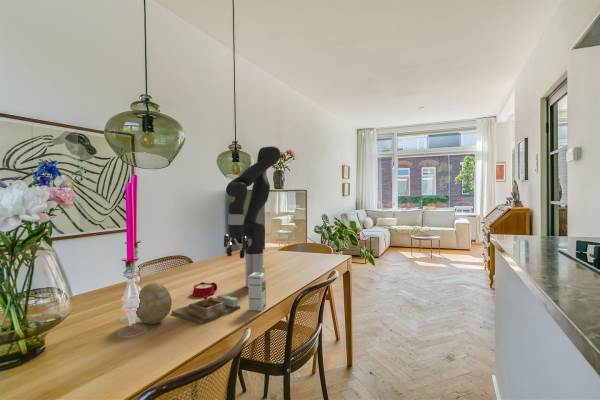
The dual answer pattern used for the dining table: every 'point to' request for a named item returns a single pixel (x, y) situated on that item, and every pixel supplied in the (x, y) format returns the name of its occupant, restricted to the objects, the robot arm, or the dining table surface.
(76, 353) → the dining table surface
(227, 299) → the bar
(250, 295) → the syrup box
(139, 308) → the fossilized egg
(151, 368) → the dining table surface
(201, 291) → the alarm clock
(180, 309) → the housing
